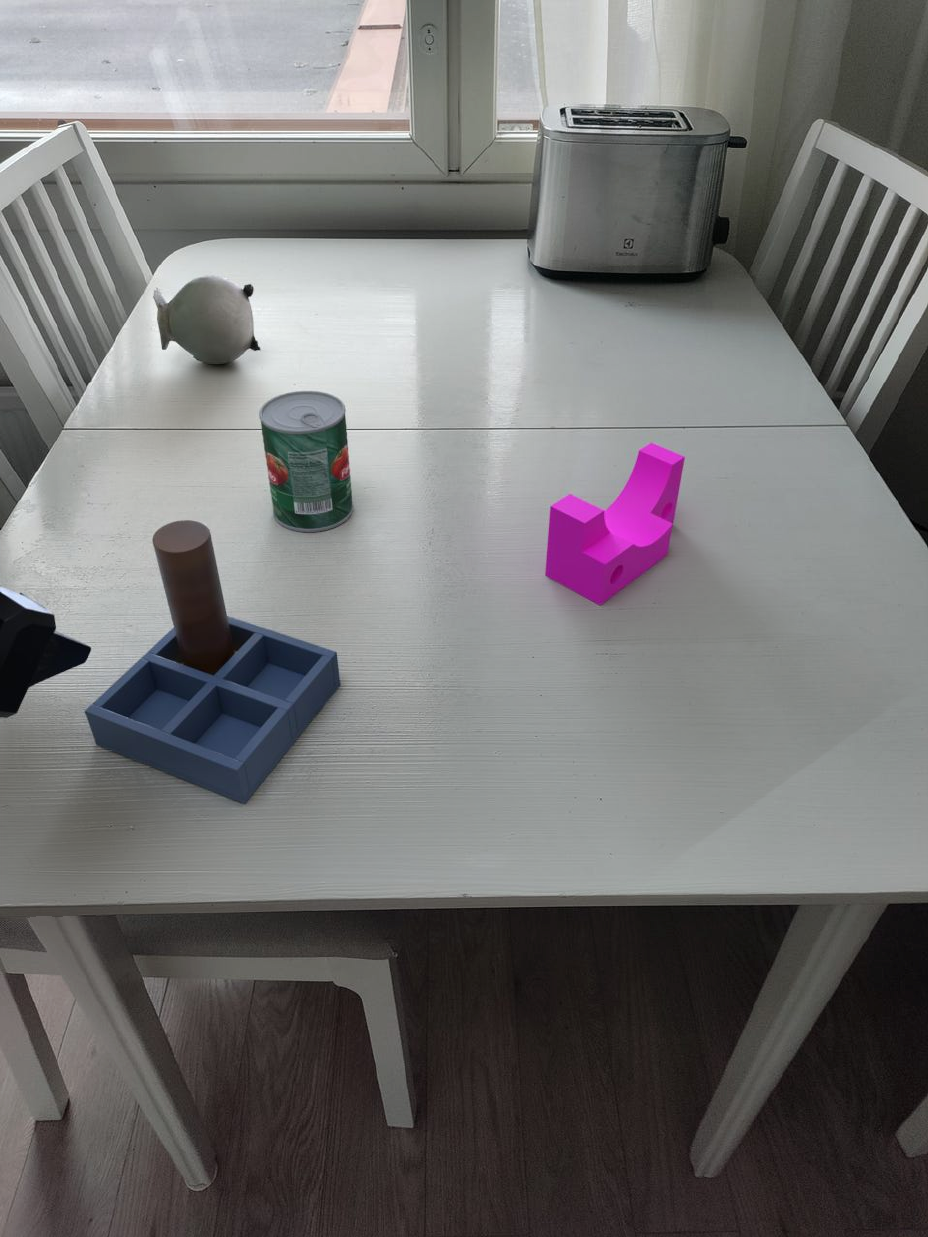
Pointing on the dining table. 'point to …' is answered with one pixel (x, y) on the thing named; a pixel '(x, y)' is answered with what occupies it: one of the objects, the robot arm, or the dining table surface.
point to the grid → (217, 709)
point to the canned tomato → (307, 460)
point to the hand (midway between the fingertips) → (43, 625)
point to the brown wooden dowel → (194, 594)
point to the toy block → (616, 529)
